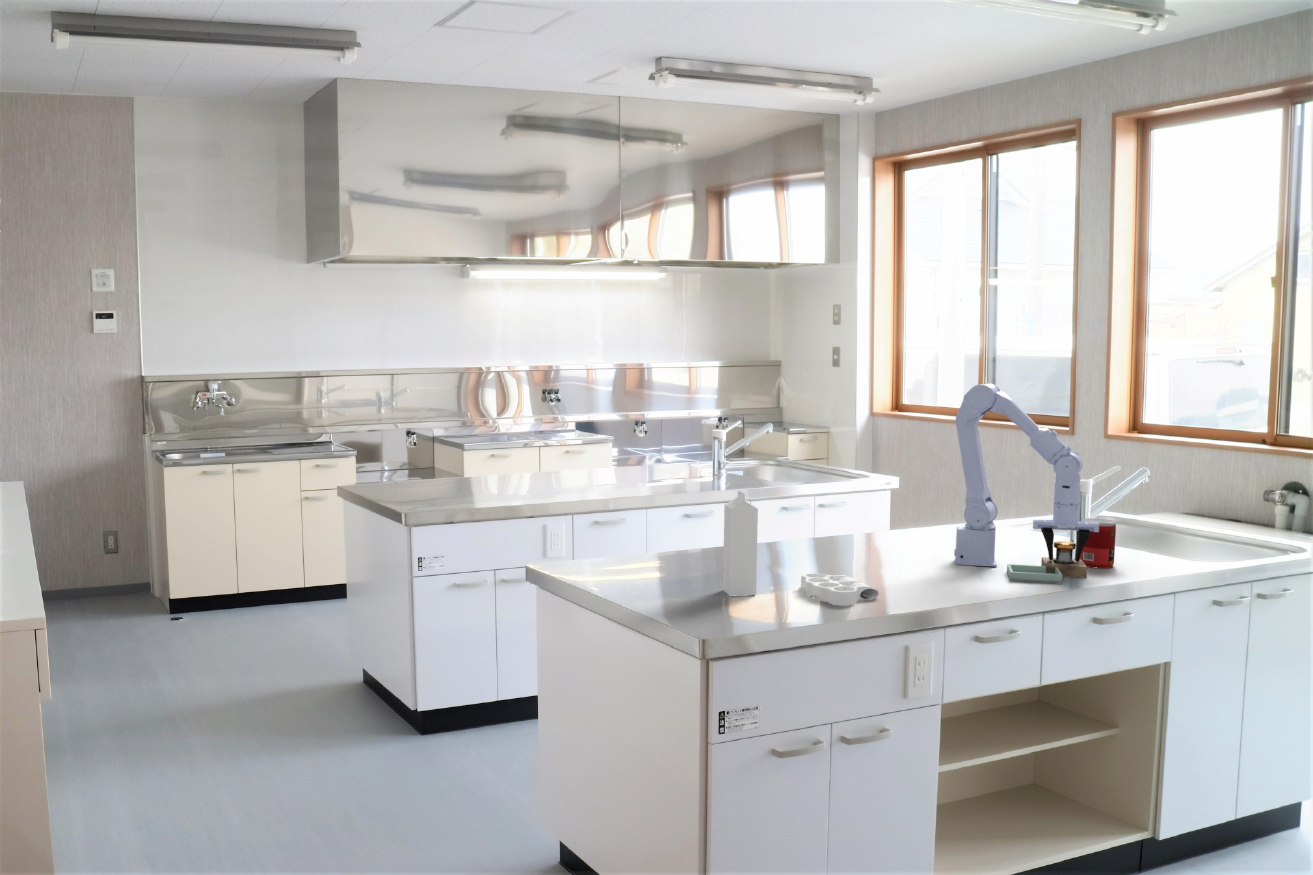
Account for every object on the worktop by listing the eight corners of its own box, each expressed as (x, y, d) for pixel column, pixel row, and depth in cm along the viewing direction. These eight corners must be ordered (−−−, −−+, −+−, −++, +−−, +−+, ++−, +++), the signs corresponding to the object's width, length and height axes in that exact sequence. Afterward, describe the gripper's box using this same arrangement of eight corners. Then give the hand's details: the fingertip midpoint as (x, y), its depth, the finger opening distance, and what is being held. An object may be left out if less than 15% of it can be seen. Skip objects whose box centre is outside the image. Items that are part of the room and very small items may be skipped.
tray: (1010, 580, 247) (1010, 572, 247) (1006, 572, 256) (1007, 563, 256) (1062, 583, 245) (1062, 575, 244) (1056, 575, 254) (1057, 566, 253)
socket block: (1045, 575, 254) (1046, 564, 253) (1041, 567, 262) (1041, 557, 262) (1086, 577, 252) (1086, 566, 251) (1080, 569, 260) (1081, 559, 260)
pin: (1053, 573, 255) (1055, 544, 254) (1051, 569, 260) (1052, 540, 259) (1075, 575, 254) (1076, 545, 253) (1072, 570, 259) (1074, 542, 258)
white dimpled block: (886, 604, 226) (823, 609, 221) (844, 585, 243) (785, 589, 238) (886, 589, 225) (823, 593, 221) (845, 570, 242) (785, 574, 238)
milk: (749, 589, 236) (752, 489, 234) (756, 596, 230) (759, 493, 228) (722, 590, 235) (724, 489, 233) (728, 596, 229) (731, 493, 227)
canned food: (1116, 569, 261) (1119, 524, 260) (1081, 567, 263) (1084, 522, 261) (1110, 562, 268) (1112, 519, 267) (1076, 561, 270) (1078, 517, 269)
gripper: (1036, 504, 253) (1033, 561, 254) (1102, 507, 250) (1099, 565, 251) (1032, 500, 260) (1030, 555, 261) (1097, 502, 257) (1094, 559, 258)
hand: (1063, 560), depth 257 cm, fingers open, 5 cm apart
